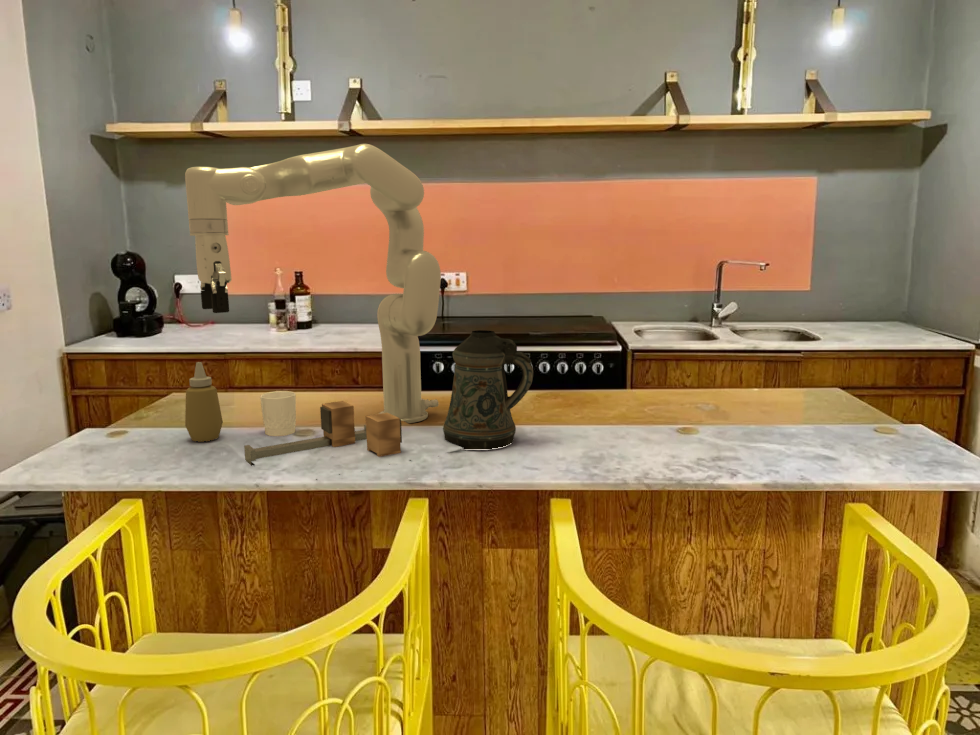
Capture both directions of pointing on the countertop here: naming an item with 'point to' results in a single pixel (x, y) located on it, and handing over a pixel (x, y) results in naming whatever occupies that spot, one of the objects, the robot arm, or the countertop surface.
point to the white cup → (279, 412)
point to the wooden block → (338, 422)
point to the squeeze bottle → (202, 408)
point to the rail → (293, 446)
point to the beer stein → (484, 392)
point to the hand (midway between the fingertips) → (215, 310)
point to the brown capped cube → (383, 434)
